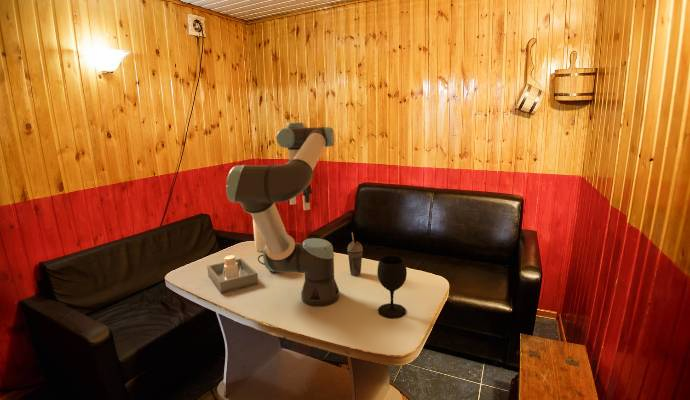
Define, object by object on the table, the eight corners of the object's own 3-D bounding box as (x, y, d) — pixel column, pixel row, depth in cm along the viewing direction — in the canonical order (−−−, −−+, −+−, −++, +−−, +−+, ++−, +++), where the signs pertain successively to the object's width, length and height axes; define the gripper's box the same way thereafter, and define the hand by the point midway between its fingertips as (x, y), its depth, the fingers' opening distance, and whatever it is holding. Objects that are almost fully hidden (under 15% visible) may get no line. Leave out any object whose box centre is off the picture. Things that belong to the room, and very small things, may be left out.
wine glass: (371, 311, 135) (371, 260, 131) (389, 301, 142) (389, 252, 138) (394, 321, 128) (394, 268, 124) (412, 310, 135) (412, 259, 131)
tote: (258, 283, 161) (257, 273, 160) (221, 293, 152) (219, 282, 151) (242, 267, 179) (241, 258, 178) (208, 276, 171) (207, 265, 169)
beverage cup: (366, 275, 166) (365, 233, 162) (351, 278, 163) (350, 235, 159) (359, 270, 173) (358, 229, 168) (345, 272, 170) (344, 231, 166)
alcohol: (273, 246, 208) (269, 194, 201) (268, 252, 199) (264, 198, 193) (258, 246, 209) (254, 194, 203) (252, 252, 200) (248, 198, 194)
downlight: (239, 272, 171) (236, 252, 168) (243, 278, 165) (240, 257, 162) (221, 277, 166) (218, 257, 164) (225, 283, 161) (222, 262, 158)
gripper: (318, 160, 151) (320, 210, 155) (292, 156, 171) (295, 201, 176) (302, 162, 147) (305, 213, 151) (277, 157, 167) (280, 203, 172)
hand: (299, 207), depth 164 cm, fingers open, 13 cm apart
